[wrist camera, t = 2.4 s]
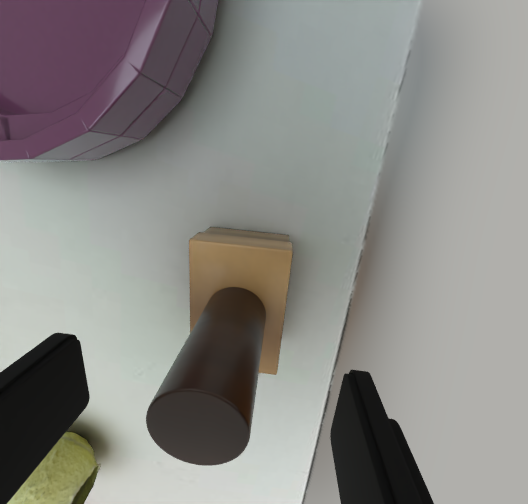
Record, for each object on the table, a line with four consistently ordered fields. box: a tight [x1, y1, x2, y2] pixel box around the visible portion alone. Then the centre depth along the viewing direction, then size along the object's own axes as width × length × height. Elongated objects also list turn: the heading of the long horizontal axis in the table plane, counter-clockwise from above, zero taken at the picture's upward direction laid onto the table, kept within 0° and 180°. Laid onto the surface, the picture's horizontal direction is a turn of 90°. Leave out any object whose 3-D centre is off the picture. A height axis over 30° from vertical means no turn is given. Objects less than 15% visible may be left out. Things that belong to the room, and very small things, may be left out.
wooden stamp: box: [146, 227, 293, 465], centre depth 12 cm, size 7×5×9 cm, turn 175°
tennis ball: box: [7, 432, 101, 504], centre depth 19 cm, size 6×7×7 cm
